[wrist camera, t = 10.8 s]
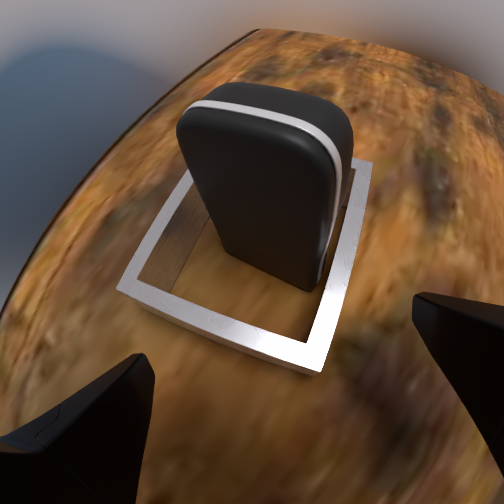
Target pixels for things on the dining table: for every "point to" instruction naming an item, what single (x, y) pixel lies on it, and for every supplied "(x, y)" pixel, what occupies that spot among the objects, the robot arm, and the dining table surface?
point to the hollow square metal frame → (222, 327)
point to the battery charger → (270, 173)
